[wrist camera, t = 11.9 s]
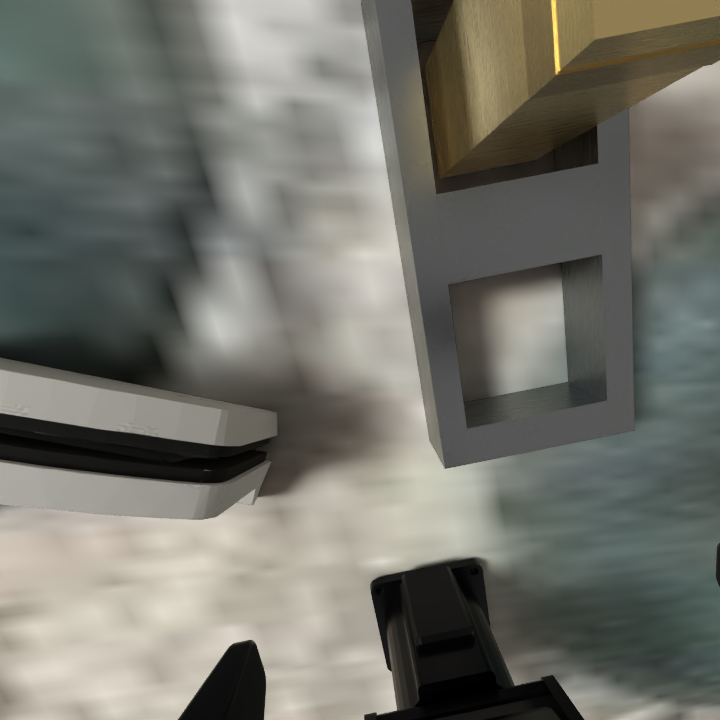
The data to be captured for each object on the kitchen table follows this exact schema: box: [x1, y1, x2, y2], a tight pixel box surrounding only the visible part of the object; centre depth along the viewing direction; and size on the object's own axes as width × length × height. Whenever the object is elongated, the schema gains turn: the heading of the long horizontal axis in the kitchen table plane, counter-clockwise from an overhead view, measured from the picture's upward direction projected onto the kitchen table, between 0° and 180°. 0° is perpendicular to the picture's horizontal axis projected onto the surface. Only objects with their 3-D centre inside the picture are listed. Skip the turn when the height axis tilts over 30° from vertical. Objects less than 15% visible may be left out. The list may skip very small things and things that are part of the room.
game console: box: [0, 358, 277, 520], centre depth 15 cm, size 17×5×10 cm, turn 77°
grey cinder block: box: [361, 0, 635, 469], centre depth 17 cm, size 20×9×3 cm, turn 11°
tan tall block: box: [425, 0, 720, 179], centre depth 12 cm, size 5×5×11 cm
